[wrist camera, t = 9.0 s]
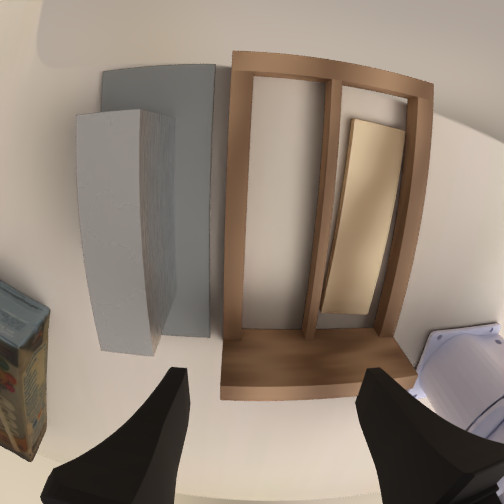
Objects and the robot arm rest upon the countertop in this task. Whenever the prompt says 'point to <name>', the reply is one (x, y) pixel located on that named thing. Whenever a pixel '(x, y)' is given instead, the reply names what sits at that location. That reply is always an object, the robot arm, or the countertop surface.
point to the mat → (179, 173)
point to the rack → (319, 245)
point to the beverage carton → (22, 372)
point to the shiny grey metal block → (127, 224)
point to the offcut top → (363, 217)
